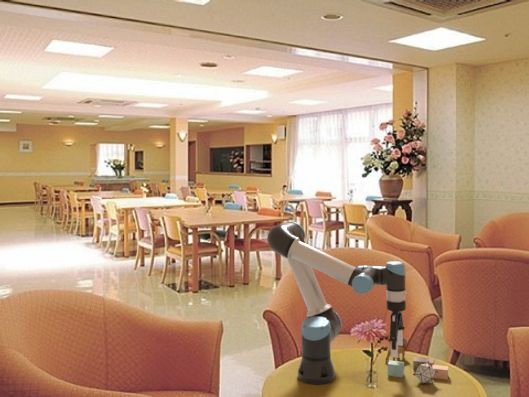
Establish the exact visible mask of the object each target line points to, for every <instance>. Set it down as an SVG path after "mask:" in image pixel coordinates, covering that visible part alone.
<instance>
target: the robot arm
mask: <svg viewBox="0 0 529 397" xmlns="http://www.w3.org/2000/svg"><path fill="white" fill-rule="evenodd" d="M266 238H267V241H266V242H267V244H268V246H269V248H270V249H271V250H272V251H273V252H274V253H277V255H280V256H281V257H282V258H284V259H286V260H287V262H288V264H289V267H290V269H291V272H292V274H293V277H294V279H295V282H296V284H297V286H298V289H299V292H300V294H301V296H302V299H303V301H304V303H305V306H306V309H307V314H306V317H307V318H305V319H304V320H303V322H302V324H301V330H300V332H301V359H300V364H299V366H298V368H297V369H298V370H297V378H298V379H299V380H300V381H301V382H303V383H306V384H309V385H311V384H312V385H325V384H329V383H331V382H334V380H335V379H336V370H335V367H334V364H333V362H332V359H331V355H332V354H331V352H332V351H331V343H332V342H333V341H334V340H335V338H336V337H338V335H340V332H341V329H342V325H343V324H342V320H341V317H340V315H339V314H338V313H337V312H336V311H334V308H333V306H332V305H331V304H329V303H328V302H327V301H326V298H325V296H324V293H323V291H322V289H321V286H320V284H319V282H318V279H317V277H316V275H315V274H316V273H315V272H314V270H316V271H319V272H321V273H323V274H324V275H327V276H329V277H331V278H333V279H335V280H337V281H339V282H342V283H343V284H345V285H347V286H349V287H351V288H352V289H353V291H354V292H355V293H356V294H359V295H365V294H366V295H367V294H368V293H369V292H371V291H372V289H374V287H375V286H376V285H377V286H385V287H386V290H385V291H386V293H385V296H386V310H388V311H390V312H391V314H390V325H389V327H390V328H389V338H388V342H390V347H391V355H390V357H391V358H393V357H396V358H397V359H399V358H398V345H400V346H403V334H404V333H403V332H404V330H405V326H404V321H403V312H404V311H405V310H407V307H406V306H407V303H406V302H407V301H406V295H408V292H406V268H405V264H404V262H402V261H398V260H397V261H395V260H393V261H392V260H391V261H387V262H386V263H385V265H384V266H381V265H379V266H378V265H359V266H357V267H356V266H354V265H351V264H349V263H347V262H345V261H343V260H341V259H339V258H337V257H334V256H333V255H331V254H328V253H327V252H324V251H322V250H320V249H317V248H316V247H314V246H311V245H309V244H307V243H306V241H305V239H306V232H305V229H304V228H303V226H302V225H301V224H299V223H298V222H296V221H286V222H283V223H280V224H277V225H275V226H273V227H272V228H270V230H269V231H268V234H267V237H266ZM313 269H314V270H313Z"/></svg>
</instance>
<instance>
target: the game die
mask: <svg viewBox="0 0 529 397" xmlns="http://www.w3.org/2000/svg"><path fill="white" fill-rule="evenodd" d="M417 364H418V367H417V370H415V373H413V374H412V375H413V376H415V377H416V378H417V379H418V380H419V381H420V382H421V386H423V385H424V384H427V383H431V384H434V379H435V378H434V376H435V374H436V372H438V371H435V370H434V369H433V368H432V367H431V366H430V364H429V361H428V363H425V364H419V363H417Z"/></svg>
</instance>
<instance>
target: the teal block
mask: <svg viewBox="0 0 529 397" xmlns="http://www.w3.org/2000/svg"><path fill="white" fill-rule="evenodd" d="M404 375H405V362H404V361H398V360H395V361H393V360H390V359H389V362H388V364H387V376H389V377H397V378H403V377H404Z"/></svg>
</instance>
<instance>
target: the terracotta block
mask: <svg viewBox="0 0 529 397" xmlns="http://www.w3.org/2000/svg"><path fill="white" fill-rule="evenodd" d="M432 368H433V369H434V370H435V371H438V372H436V374H435V376H434V378H433V379H441V380H446V381H447V380H449V366H447V365H437V364H434V365H433V366H432Z"/></svg>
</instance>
